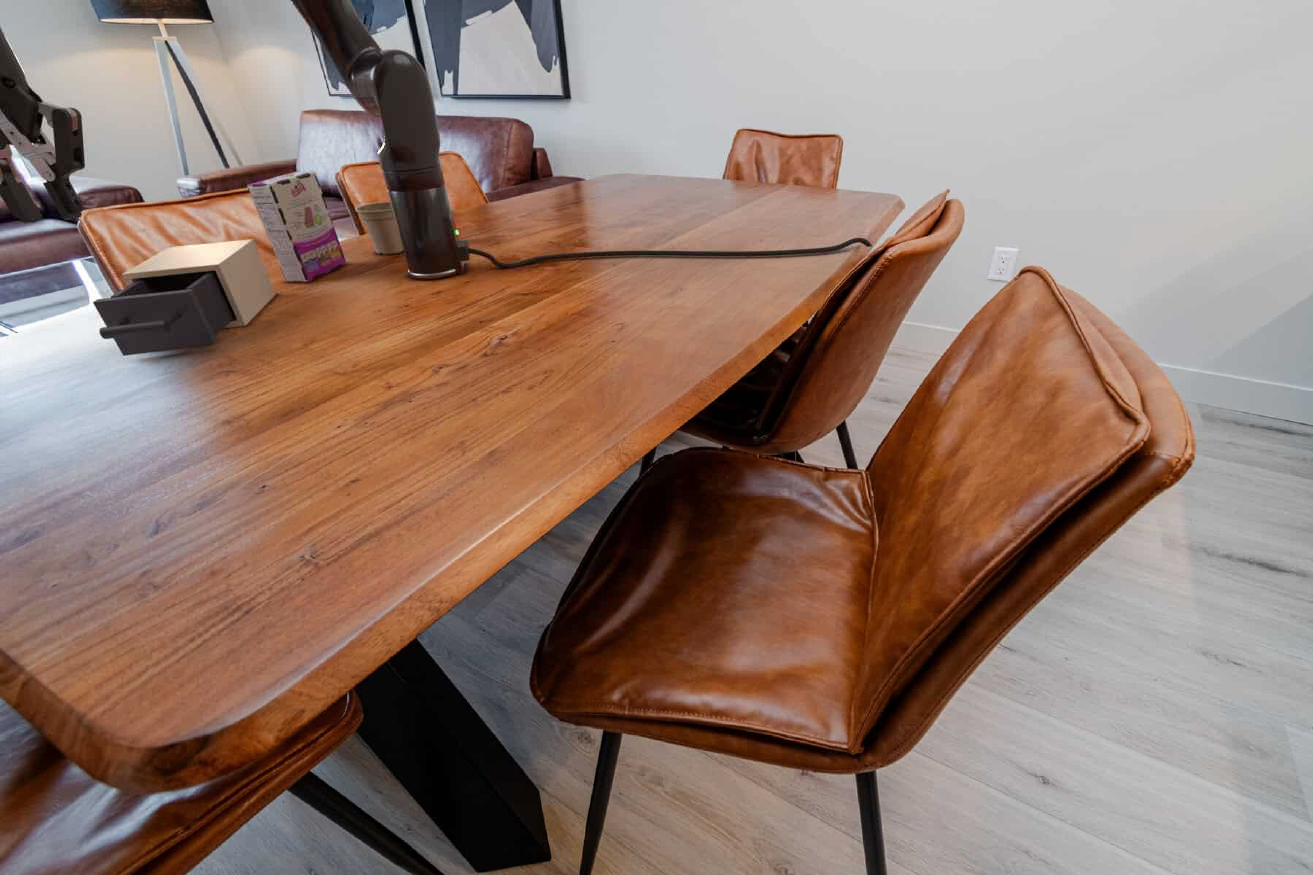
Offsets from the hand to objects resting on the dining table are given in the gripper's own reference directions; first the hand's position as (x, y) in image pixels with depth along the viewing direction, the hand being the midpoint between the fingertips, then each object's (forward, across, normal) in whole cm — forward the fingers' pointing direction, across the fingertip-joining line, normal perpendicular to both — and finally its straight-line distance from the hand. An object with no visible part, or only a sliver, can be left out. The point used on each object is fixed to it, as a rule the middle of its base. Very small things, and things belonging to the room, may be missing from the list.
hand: (53, 219), depth 63 cm
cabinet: (+19, 0, +24) cm, 31 cm away
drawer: (+18, 0, +12) cm, 22 cm away
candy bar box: (+19, +10, +42) cm, 47 cm away
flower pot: (+19, +22, +53) cm, 61 cm away
